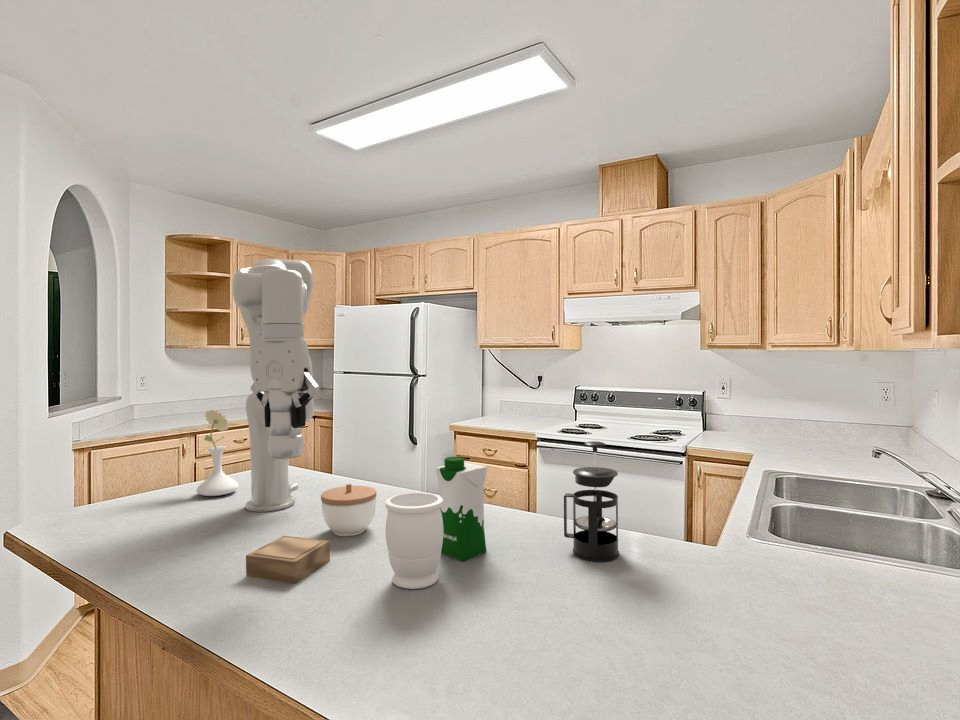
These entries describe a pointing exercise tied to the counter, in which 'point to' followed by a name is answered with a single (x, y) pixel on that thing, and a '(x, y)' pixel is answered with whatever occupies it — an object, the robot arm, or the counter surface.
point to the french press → (594, 514)
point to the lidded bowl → (348, 509)
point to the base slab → (288, 559)
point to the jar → (414, 538)
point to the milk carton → (462, 508)
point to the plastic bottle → (282, 424)
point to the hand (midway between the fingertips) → (285, 425)
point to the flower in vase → (217, 461)
